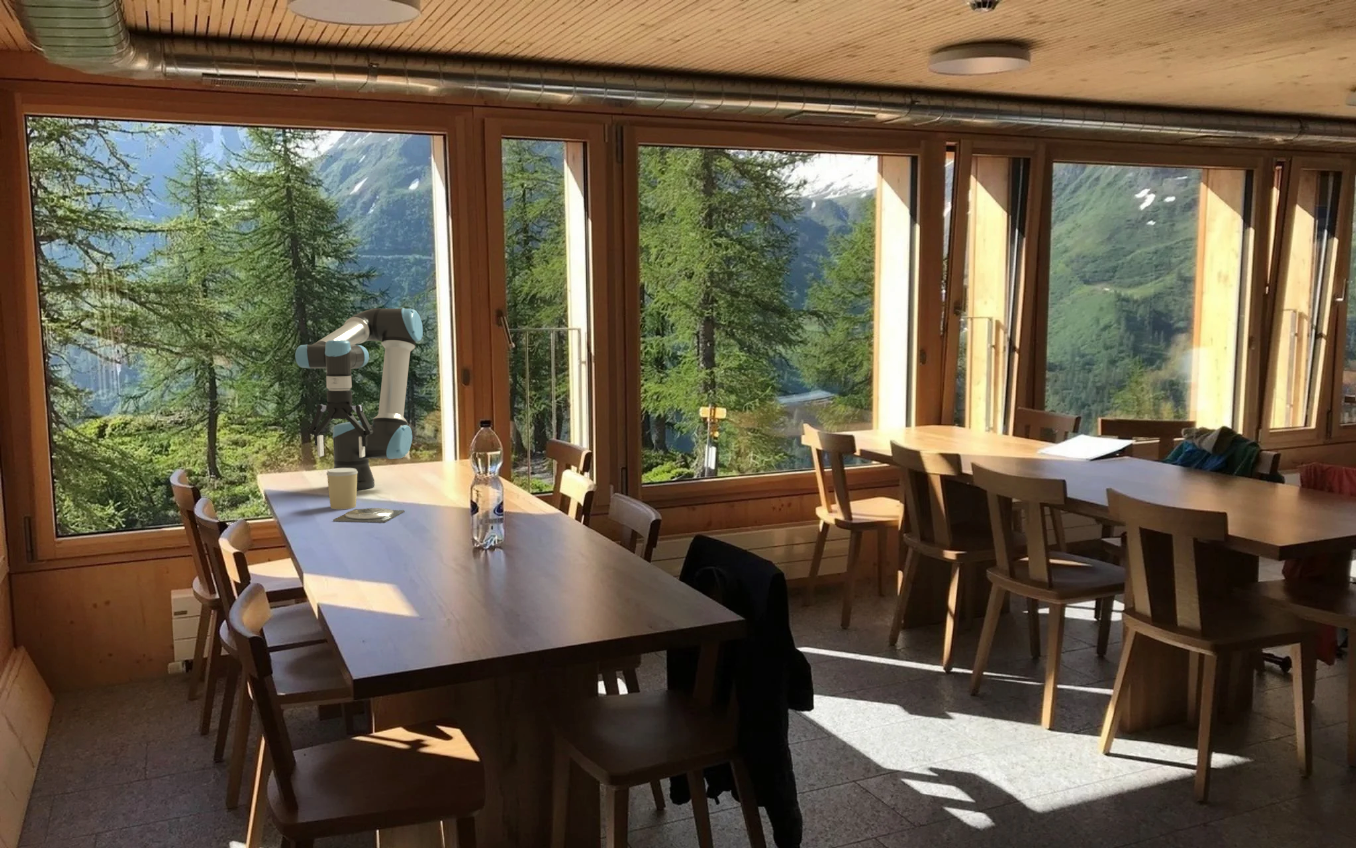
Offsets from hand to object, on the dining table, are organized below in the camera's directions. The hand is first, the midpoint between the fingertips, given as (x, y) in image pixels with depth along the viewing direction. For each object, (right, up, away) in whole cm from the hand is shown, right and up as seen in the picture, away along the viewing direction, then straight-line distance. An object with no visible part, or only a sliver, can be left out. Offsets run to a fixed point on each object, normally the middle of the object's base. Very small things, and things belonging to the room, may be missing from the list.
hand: (341, 456), depth 331 cm
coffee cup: (0, -16, +2) cm, 17 cm away
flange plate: (+13, -18, -12) cm, 25 cm away
